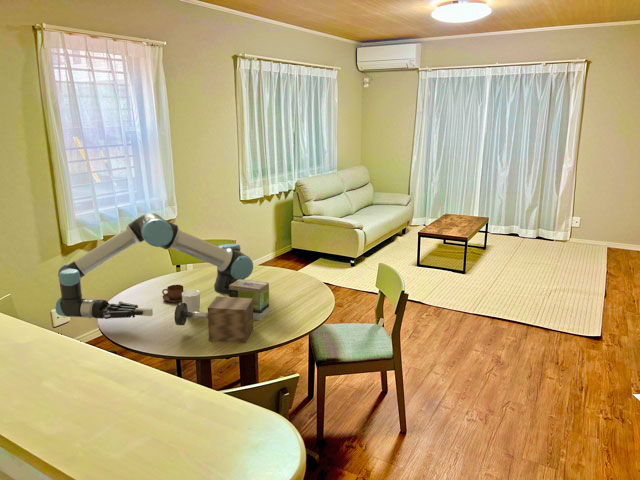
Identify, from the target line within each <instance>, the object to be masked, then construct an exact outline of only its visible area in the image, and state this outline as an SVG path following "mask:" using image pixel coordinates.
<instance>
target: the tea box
mask: <svg viewBox="0 0 640 480" xmlns="http://www.w3.org/2000/svg"><path fill="white" fill-rule="evenodd" d="M228 297H237V298H253V321H259V322H261V321H262V320H263V319H264V318H265V317H267V316H268V313H270V282H267V281H260V280H259V281H258V280H252V279H238V280H237V281H235V282H234V283H232V284H230V285H229V293H228Z"/></svg>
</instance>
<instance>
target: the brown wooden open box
mask: <svg viewBox="0 0 640 480" xmlns="http://www.w3.org/2000/svg"><path fill="white" fill-rule="evenodd" d="M207 313H208V319H207V328H208V329H207V330H208V341H209V342H218V343H233V344H235V343H236V344H247V343H248V342H249V340H250V338H251V335H252V334H253V332H254V320H253V298H237V297H229V296H216V297H215V298H214V299H213V300H212V302H211V303H210V304H209V305H208V307H207Z"/></svg>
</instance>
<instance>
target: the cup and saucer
mask: <svg viewBox="0 0 640 480" xmlns="http://www.w3.org/2000/svg"><path fill="white" fill-rule="evenodd" d="M166 287H167V288H164V289H163V290H162V291H161V293H162V299H163V301H165V302H169V303H178V302H179V303H181V302H182V292H184V286H183V285H182V284H172V285H169V286H166ZM164 291H166V292H167V293H165V292H164Z"/></svg>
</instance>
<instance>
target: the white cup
mask: <svg viewBox="0 0 640 480" xmlns="http://www.w3.org/2000/svg"><path fill="white" fill-rule="evenodd" d="M181 303H186V304H187V308H188V311H190V312H201V310H200V309H201V291H200V290H198V289H187V290H185V291H184V290H183V292H182V301H181Z"/></svg>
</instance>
